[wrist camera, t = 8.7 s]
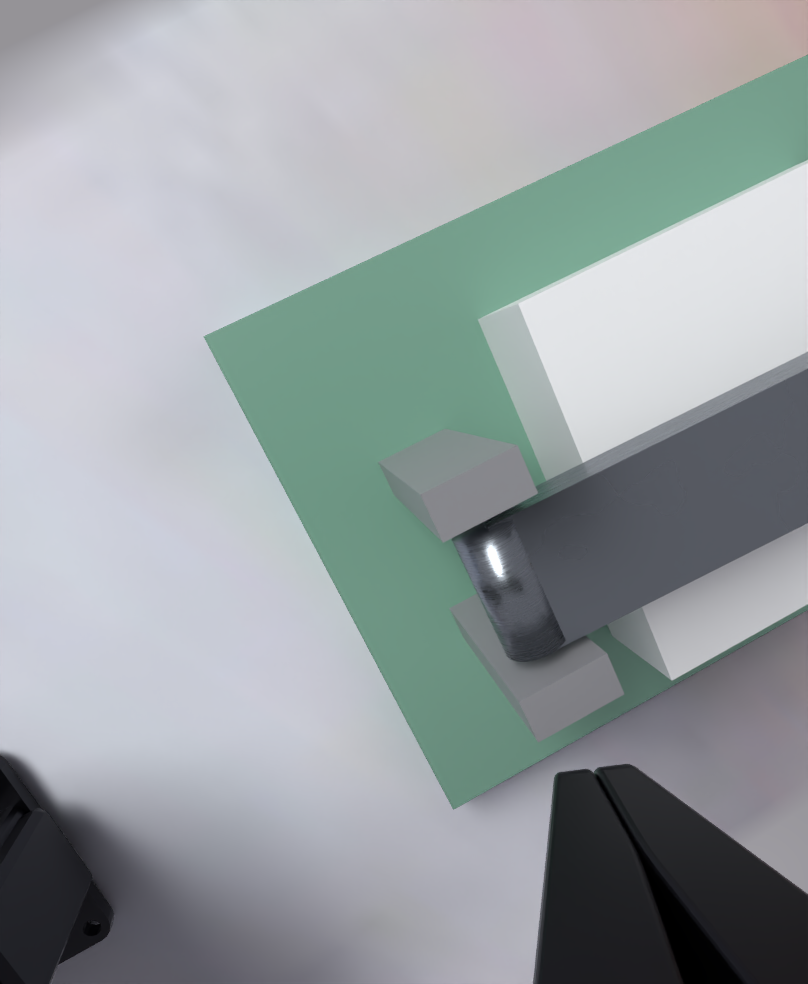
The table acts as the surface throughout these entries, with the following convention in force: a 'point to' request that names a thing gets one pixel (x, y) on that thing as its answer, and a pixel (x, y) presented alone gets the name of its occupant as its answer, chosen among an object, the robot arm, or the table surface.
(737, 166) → the board
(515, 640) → the strap
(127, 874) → the table surface
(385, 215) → the table surface
